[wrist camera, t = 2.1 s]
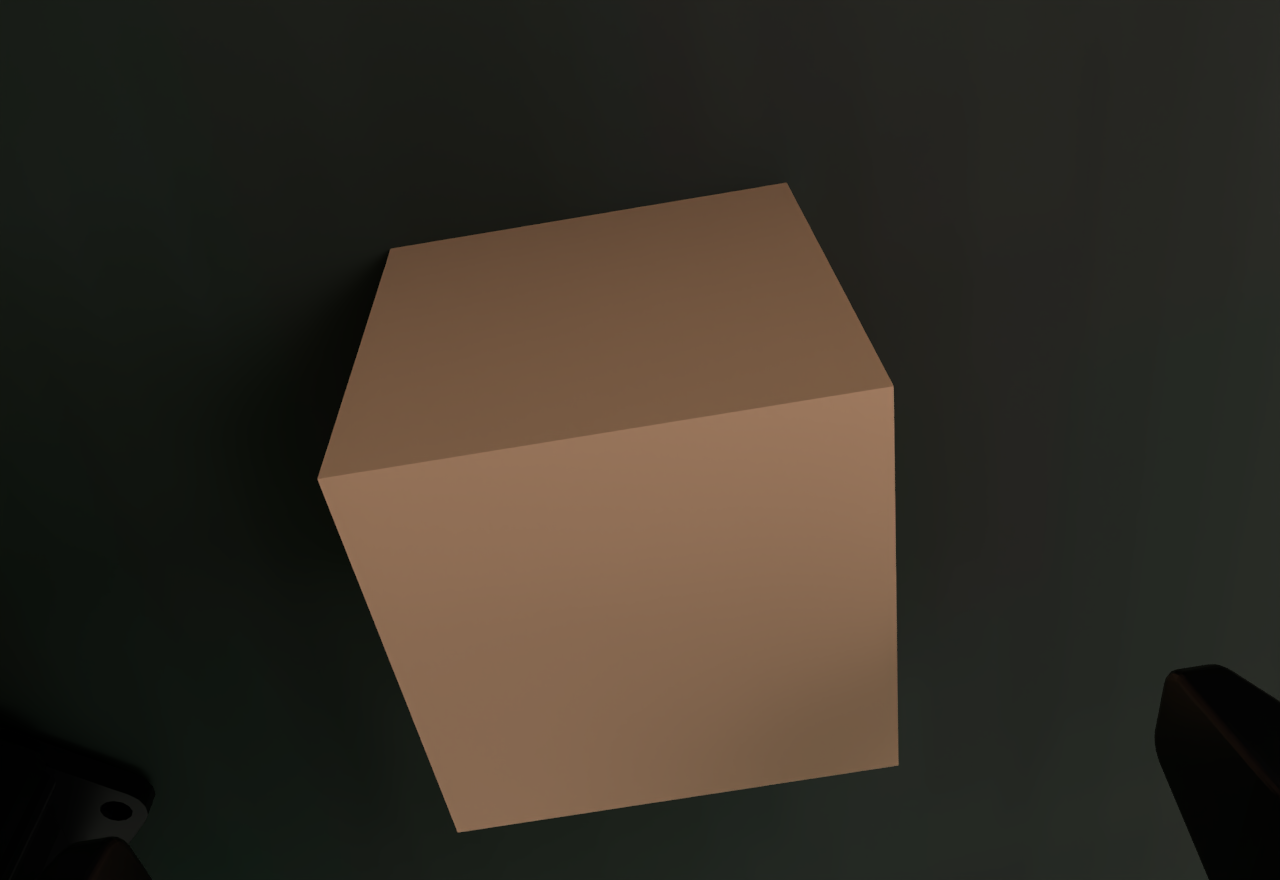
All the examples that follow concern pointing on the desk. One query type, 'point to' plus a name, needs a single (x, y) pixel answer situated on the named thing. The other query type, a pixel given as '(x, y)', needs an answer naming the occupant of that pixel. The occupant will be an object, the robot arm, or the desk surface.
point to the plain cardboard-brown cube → (625, 508)
